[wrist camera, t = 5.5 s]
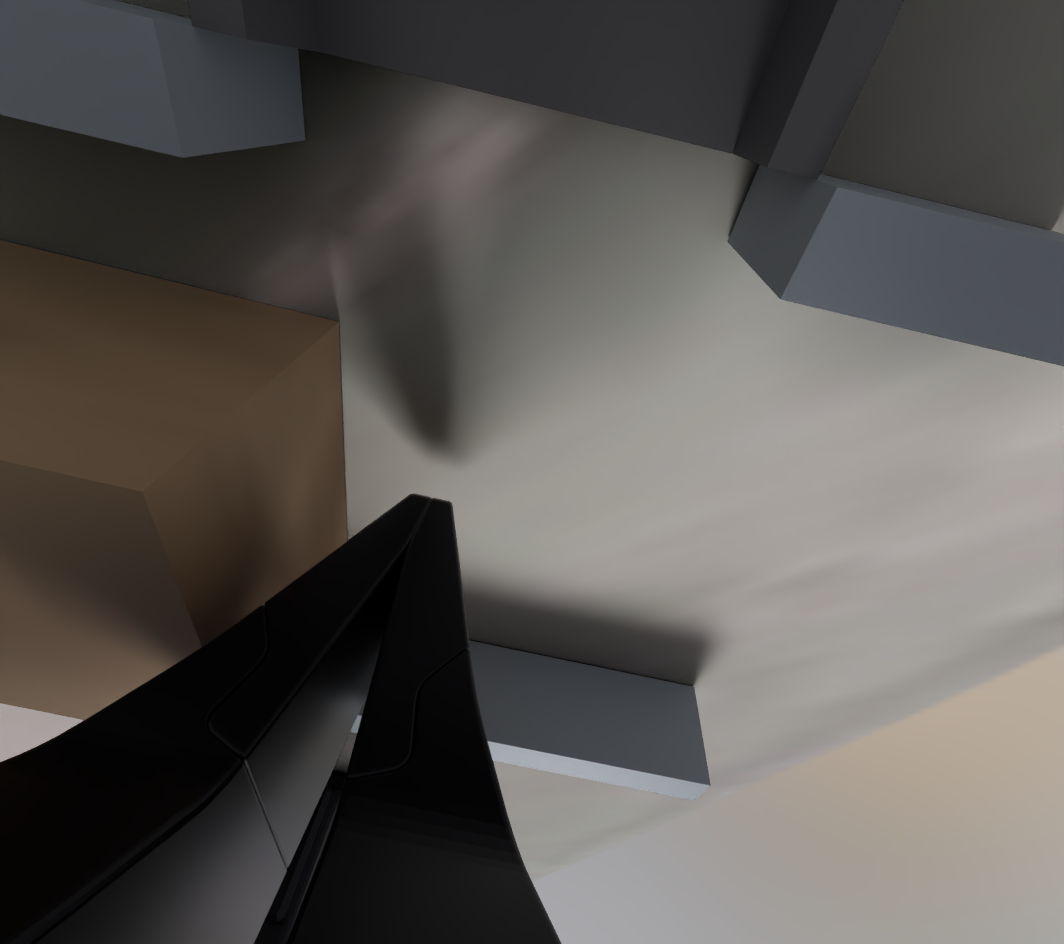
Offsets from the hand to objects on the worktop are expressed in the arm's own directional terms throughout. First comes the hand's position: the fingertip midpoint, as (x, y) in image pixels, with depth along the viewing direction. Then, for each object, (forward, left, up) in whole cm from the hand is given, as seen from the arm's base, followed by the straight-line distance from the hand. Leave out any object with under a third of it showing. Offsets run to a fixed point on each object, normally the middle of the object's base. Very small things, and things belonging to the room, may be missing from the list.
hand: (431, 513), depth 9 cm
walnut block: (0, +5, -1) cm, 5 cm away
